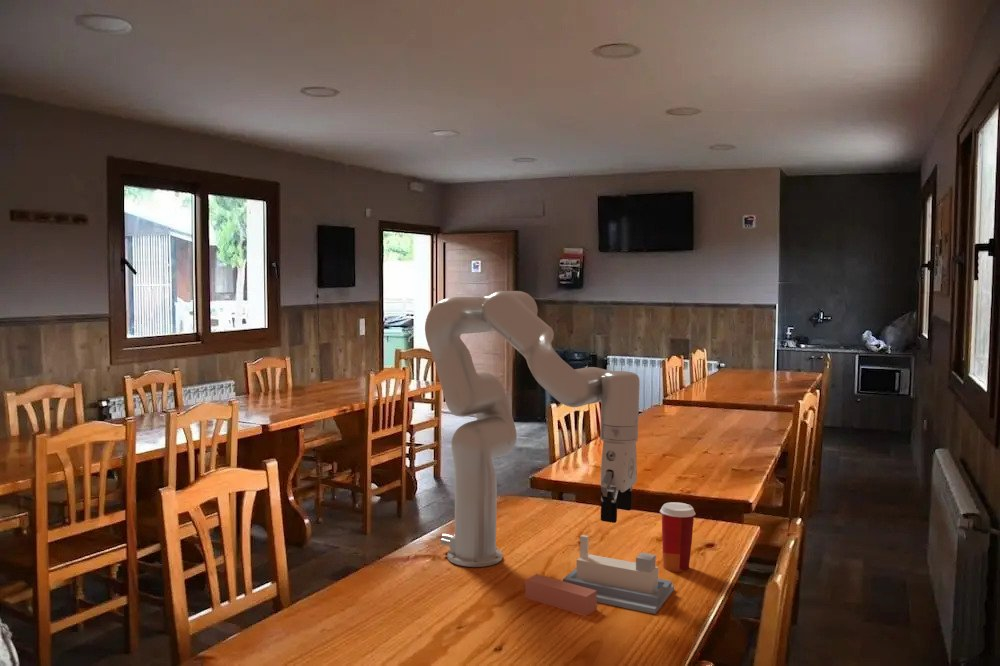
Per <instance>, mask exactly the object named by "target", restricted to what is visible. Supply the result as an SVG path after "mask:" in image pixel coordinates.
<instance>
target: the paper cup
mask: <svg viewBox="0 0 1000 666" xmlns="http://www.w3.org/2000/svg"><path fill="white" fill-rule="evenodd" d="M659 513H660V514H661V536H662V540H661V541H662V566H663V569H665V570H667V571H669V572H673V573H684V572H685V573H686V572H688V571H689V570H690V562H691V554H692V553H691V551H692V550H691V549H692V541H693V529H694V528H693V527H694V520H695V519H694V518H695V516H696V512H695V509H694V507H693V506H692V505H691V504H687V503H684V502H678V501H677V502H674V501H673V502H671V501H670V502H666V503H664V504H663V505H662V506H661V508H660V509H659Z"/></svg>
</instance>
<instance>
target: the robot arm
mask: <svg viewBox="0 0 1000 666" xmlns="http://www.w3.org/2000/svg"><path fill="white" fill-rule="evenodd" d="M538 311H539V310H538V305H537V302H536V301H535V299H534V298H533V297H532V296H531V295H530V294H529V293H527V292H524V291H521V290H501V291H496V292H493V293H491V294H490V295H486V296H485V295H484V296H452V297H446V298H444V299H441V300H439V301H437V302H436V303H435V304H434V305H432V307H431V308H430V310H429V311H428V314H427V316H426V319H425V324H424V332H425V333H424V334H425V338H426V342H427V345H428V348H429V351H430V353H431V356H432V359H433V361H434V365H435V368H436V372H437V376H438V379H439V383H440V386H441V390H442V393H443V398H444V401H445V404H446V407H447V409H448V411H449V412H450V413H451V415H454V416H455V417H460V418H462V417H463V418H464V417H469V416H474V415H475V417H476V420H472V421H468V422H465V423H464V424H462V425H460V426H458V428H457V429H456V430H455V431H454V433H453V435H452V438H451V443H450V444H451V454H452V459H453V464H454V535H453V534H452V535H451V534H449V533H442V535H441V536H440V537H441V538H440V545H442V546H449V550H448V551H447V560H448V561H449V562H450V563H452V564H455V565H457V566H462V567H468V568H480V567H481V568H484V567H489V566H493V565H497V564H498V563H500V562H501V561H503V552H502V551H501V550H500V549H499V548H497V509H498V507H497V501H498V496H497V495H498V490H497V489H498V484H497V482H498V481H497V473H496V471H495V468H494V465H493V460H494V459H497V458H500V457H502V456H506V455H508V454H509V453H511V452H512V451H513V449H514V448H515V446H516V443H517V436H518V435H517V428H516V424H515V420H514V418H513V413H512V411H511V407H510V404H509V400H508V397H507V393H506V390H505V388H504V386H503V384H502V382H501V380H499V379H498V378H497V376H495V375H494V374H492V373H490V372H487V371H486V372H485V371H480V372H477V370H476V368H475V364H474V362H473V358H472V355H471V351H470V350H469V348H468V347H467V345H466V344H465V343H464V341H463V340H462V339H461V336H462V335H465V334H466V335H467V334H478V333H479V334H480V333H488V332H496V333H498V335H500V336H501V337H502V338H503V339H504V340H506V342H507V343H509V345H510V346H512V348H514V349H515V350H517V352H518V353H519V354H521V356H522V357H524V359H525V360H526V363H527V367H528V368H529V370H530V373H531V374H532V377H534V379H535V381H536V382H537V383H538V384H539V385H540V386H541V387H542V389H544V390H545V391H546V392H547V393H548V394H549V395H550V396H551V397H553V398H554V399H555V400H556V401H557V402H559V403H560V404H562V405H564V406H565V407H570V408H579V407H583V406H587V405H592V404H596V403H601V405H600V408H601V409H600V435H599V437H600V440H601V441H603V444H602V453H601V463H600V466H601V467H600V489H601V491H600V521H602V522H605V523H611V524H616V523H617V522H618V510H622V511H623V510H624V511H631V510H632V507H633V505H632V503H633V501H632V500H633V499H632V498H633V494H632V493H633V491H632V490H633V487H634V485H635V484H636V483H637V481H638V479H637V476H638V471H637V470H638V466H637V464H638V462H637V461H638V460H637V442H638V440H639V439H638V438H639V437H638V436H639V435H638V434H639V410H640V409H639V407H640V383H641V382H640V377H639V375H638V374H637V373H635V372H631V371H627V370H626V371H624V370H613V371H612V370H608V369H604V368H601V367H595V366H588V367H582V368H576V369H574V367H572V366H570V365H569V364H568V363H567V362H566V361H565V360H563V358H561V356H560V355H559V354H558V353H557V352H556V350H555V349H554V347H553V345H552V342H553V341H554V335H555V333H554V330H553V328H552V327H551V326H549V324H548V323H546V322H545V321H544V320H542V319H541V317H539V316H538V313H539V312H538Z"/></svg>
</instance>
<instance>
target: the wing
mask: <svg viewBox="0 0 1000 666" xmlns="http://www.w3.org/2000/svg"><path fill="white" fill-rule="evenodd" d="M524 590H525V596H524V597H525V599H529V600H531V601H535V602H538V603H541V604H543V605H544V604H545V605H549V606H550V607H555V608H557V609H562V610H565V611H567V612H571V613H574V614H578V615H581V616H584V617H586V616H588V615H590V614H591V613H593V612H594V611H596V610H597V602H596V597H597V591H596V590H593V589H589V588H586V587H582V586H578V585H575V584H571V583H567V582H564V581H563V580H560V579H556V578H552V577H548V576H545V575H542V574H538V573H536V574H534V575H533V576H530V577H527V579H525V589H524Z"/></svg>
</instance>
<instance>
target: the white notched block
mask: <svg viewBox="0 0 1000 666" xmlns="http://www.w3.org/2000/svg"><path fill="white" fill-rule="evenodd" d="M589 537H590V536H589V535H584V534H582V535H580V536H579V557H578V558H576V568H577V570H576V579H580V580H585V581H590V582H595V583H600V584H606V585H611V586H616V587H621V588H626V589H631V590H636V591H641V592H646V593H651V594H655V593H656V592H657V591H658V579H659V566H656V556H657V555H656V554H652V553H646V552H640V553H639V554H638V555H637V556H636V557H635V561H628V560H623V559H618V558H612V557H605V556H601V555H595V554H590V553H589V540H590V539H589Z"/></svg>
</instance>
